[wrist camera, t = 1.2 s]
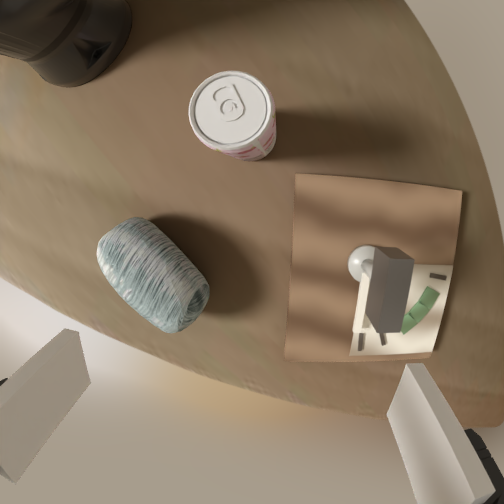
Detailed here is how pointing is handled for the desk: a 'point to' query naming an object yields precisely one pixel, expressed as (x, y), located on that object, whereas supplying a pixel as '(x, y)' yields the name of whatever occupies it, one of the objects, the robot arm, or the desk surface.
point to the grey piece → (381, 286)
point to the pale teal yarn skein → (152, 274)
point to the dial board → (347, 288)
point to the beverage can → (234, 115)
